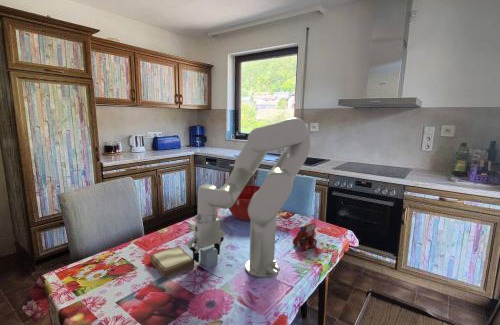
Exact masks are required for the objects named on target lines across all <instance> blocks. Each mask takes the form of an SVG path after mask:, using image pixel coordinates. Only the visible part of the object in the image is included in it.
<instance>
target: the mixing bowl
mask: <svg viewBox="0 0 500 325" xmlns="http://www.w3.org/2000/svg"><path fill="white" fill-rule="evenodd" d="M260 187H261V186H259V185H252V184H249V185H248V184H246V185H245V187H244V188H243V190H242V192H241V193H240V195H239V197H238V198H237V200H236V201H235V203H234V205H233V206H232V207H230V208H228V210H229V211H230V213H231V215H232V216H233V217H235V218H236V219H237V220H240V221H246V222H248V221H250V222H251V219H250V218H249V215H248V206H249V203H250V201H251V198H252V196H253V195H254V193H255V192H257V191H258V190H259V188H260Z"/></svg>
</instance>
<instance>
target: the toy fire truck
mask: <svg viewBox="0 0 500 325" xmlns="http://www.w3.org/2000/svg"><path fill="white" fill-rule="evenodd" d="M315 229H316V223H315V222H311V223H308V224H305V225H304V226H301V227H300V230H298V231H297V234H296V236H295V237H294V238H293V240H292V245H293V246H294V247H295V248H301V249H302V250H303V251H308V250H310V249H309V248H310V247H311V248H315V247H316V246H317V243H318V241H317V239H316V238H315Z"/></svg>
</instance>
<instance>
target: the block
mask: <svg viewBox="0 0 500 325" xmlns="http://www.w3.org/2000/svg"><path fill="white" fill-rule="evenodd" d="M199 252H200V253H199V262H200V264H202V265H203V266H204V267H205V268H210V267H212V266H216V265H217V264H218V262H219V261H218V256H219V255H218V250H217V249H216V248H214V245H211V246H208V247H205V248H200V249H199Z"/></svg>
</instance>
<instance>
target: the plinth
mask: <svg viewBox="0 0 500 325" xmlns="http://www.w3.org/2000/svg"><path fill="white" fill-rule="evenodd" d="M149 256H150V257H149V258H150V259H149V260H150V263H151V264H152V265H153V267H154V268H155V269H156V270H157V271H158V273H160V275H161V276H162V277H163V279H167V278H170V277H173V276H174V275H178V274H179V273H183V272H185V271H187V270H190V269H192V268H195V260H194V259H193V256H191V255H190V254H188V253H187V252H186V251H185V250H184V249H183V248H181V247H180V246H179V245H177V246H174V247H170V248H168V249H165V250H161V251H158V252H156V253H152V254H150V255H149Z"/></svg>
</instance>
